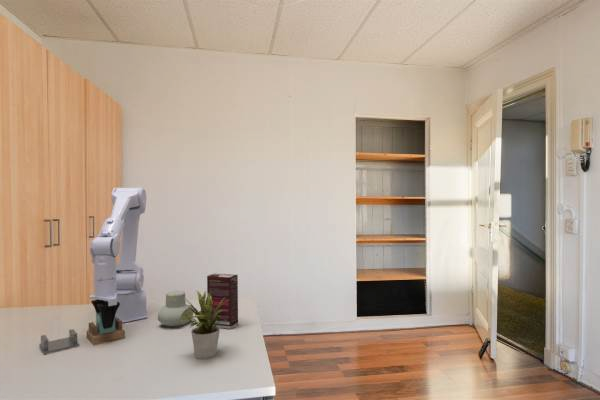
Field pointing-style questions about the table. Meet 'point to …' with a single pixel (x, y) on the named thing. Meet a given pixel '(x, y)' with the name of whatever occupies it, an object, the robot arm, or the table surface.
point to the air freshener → (175, 310)
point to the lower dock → (59, 343)
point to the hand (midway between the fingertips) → (105, 325)
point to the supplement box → (224, 298)
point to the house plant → (204, 327)
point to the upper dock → (106, 337)
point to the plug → (100, 325)
